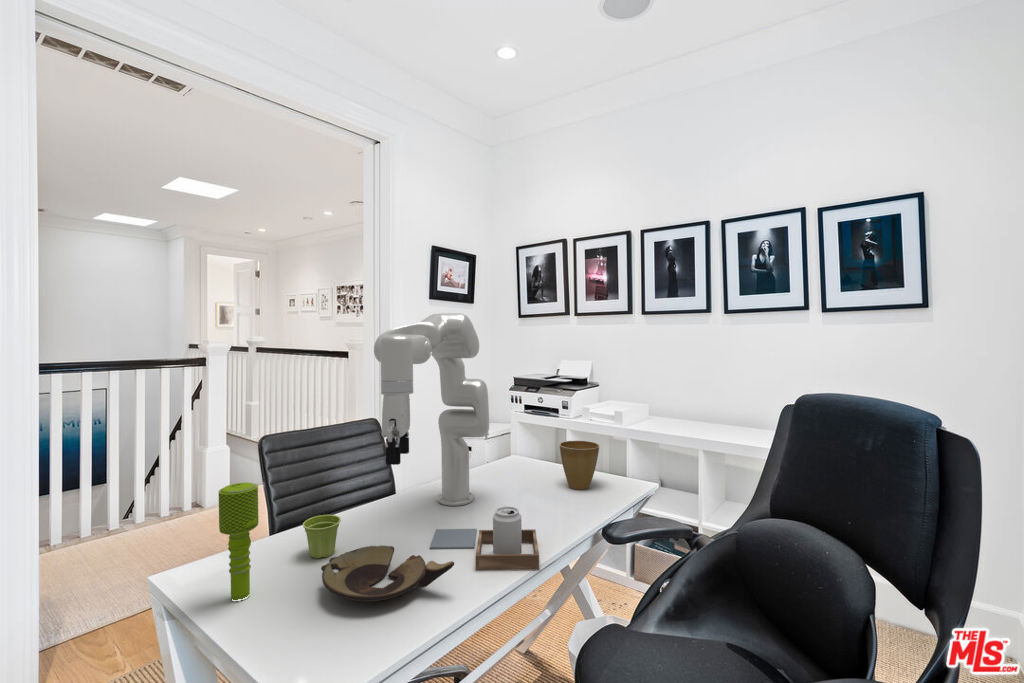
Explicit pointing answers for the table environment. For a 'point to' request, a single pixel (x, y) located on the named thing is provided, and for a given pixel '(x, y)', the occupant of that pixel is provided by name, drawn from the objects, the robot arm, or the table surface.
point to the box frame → (507, 559)
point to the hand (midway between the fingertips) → (398, 458)
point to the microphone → (239, 531)
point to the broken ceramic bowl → (377, 574)
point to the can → (507, 531)
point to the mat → (454, 539)
